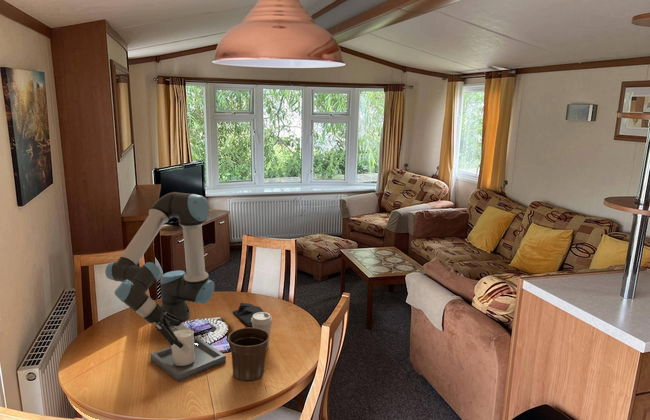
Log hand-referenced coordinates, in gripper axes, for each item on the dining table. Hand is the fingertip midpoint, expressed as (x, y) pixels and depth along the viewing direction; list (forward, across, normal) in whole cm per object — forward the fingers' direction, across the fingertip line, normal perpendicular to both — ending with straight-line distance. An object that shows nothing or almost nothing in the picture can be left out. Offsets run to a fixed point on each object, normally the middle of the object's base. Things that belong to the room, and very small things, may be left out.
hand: (189, 342), depth 199 cm
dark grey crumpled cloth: (+26, -39, +13) cm, 49 cm away
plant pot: (+23, +12, +10) cm, 28 cm away
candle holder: (+4, +3, -6) cm, 8 cm away
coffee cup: (+28, -8, +15) cm, 33 cm away
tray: (+6, 0, -7) cm, 9 cm away
